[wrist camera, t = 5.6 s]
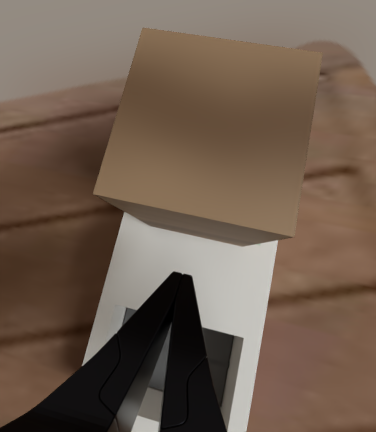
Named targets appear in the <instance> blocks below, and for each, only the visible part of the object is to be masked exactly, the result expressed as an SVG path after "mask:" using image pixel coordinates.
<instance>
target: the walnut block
mask: <svg viewBox="0 0 376 432" xmlns="http://www.w3.org/2000/svg"><path fill="white" fill-rule="evenodd" d="M322 55H323V53H321V52H313V51H306V50H299V49H292V48H285V47H278V46H270V45H263V44H256V43H249V42H242V41H235V40H227V39H221V38H214V37H206V36H199V35H192V34H185V33H177V32H171V31H164V30H156V29H149V28H142V31H141V35H140V38H139V41H138V45H137V48H136V51H135V55H134V58H133V61H132V65H131V68H130V71H129V75H128V78H127V81H126V85H125V88H124V91H123V95H122V98H121V101H120V105H119V108H118V111H117V115H116V118H115V121H114V125H113V128H112V131H111V135H110V138H109V141H108V145H107V148H106V151H105V155H104V158H103V161H102V165H101V168H100V171H99V175H98V178H97V181H96V185H95V188H94V191H93V194H94V195H96V196H97V197H99V198H101V199H103V200H105V201H106V202H108V203H110V204H112V205H113V206H115V207H117V208H119V209H121V210H122V211H124V212H126V213H128V214H130V215H131V216H133V217H135V218H137V219H138V220H140V221H142V222H144V223H146V224H147V225H149V226H152V227H156V228H161V229H165V230H170V231H174V232H179V233H183V234H188V235H192V236H197V237H201V238H206V239H210V240H214V241H219V242H223V243H228V244H232V245H237V246H241V247H244V246H249V245H255V244H260V243H265V242H271V241H276V240H282V239H287V238H292V237H294V236H295V229H296V223H297V216H298V210H299V203H300V197H301V190H302V184H303V178H304V171H305V165H306V158H307V152H308V145H309V139H310V132H311V126H312V119H313V113H314V106H315V100H316V93H317V87H318V80H319V74H320V68H321V61H322Z"/></svg>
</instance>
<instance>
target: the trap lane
mask: <svg viewBox="0 0 376 432" xmlns="http://www.w3.org/2000/svg"><path fill="white" fill-rule="evenodd" d="M277 243H278V240H276V241H271V242H265V243H260V244H255V245H249V246H244V247H241V246H237V245H232V244H228V243H223V242H219V241H214V240H210V239H206V238H201V237H197V236H192V235H188V234H183V233H179V232H174V231H170V230H165V229H161V228H156V227H152V226H149V225H147V224H146V223H144V222H142V221H140V220H138V219H137V218H135V217H133V216H131V215H130V214H128V213H126V212H124V215H123V218H122V222H121V226H120V229H119V233H118V237H117V240H116V244H115V248H114V251H113V255H112V258H111V262H110V266H109V269H108V273H107V277H106V280H105V284H104V288H103V291H102V295H101V299H100V302H99V306H98V309H97V313H96V317H95V320H94V324H93V328H92V331H91V335H90V339H89V342H88V346H87V350H86V353H85V357H84V360H83V364H82V366H83V365H84V364H85V363H86V362H87V361H88V360H90V359H91V358H92V357H93V356H94V355H95V354H96V353H97V352H98V351H99V350H100V349H101V348H102V347H103V346H104V345H105V344H106V343H107V342H108V341H109V340H110V339H111V338H112V336H113V335H114V334H115V333H117V331H118V330H119V329H120V328H121V327H122V325H124V324H125V323H126V321H127V320H128V319H129V318H130V317H131V316H132V315H133V314H134V313H135V312H136V311H137V310H138V308H139V307H140V306H141V305H142V304H143V303H144V302H145V301H146V300H147V299H148V298H149V297H150V296H151V294H152V293H153V292H154V291H155V290H156V289H157V288H158V287H159V286H160V285H161V284H162V283H163V281H164V280H165V279H166V278H167V277H168V276H169V275H170V274H171V273H172V272H173V271H176V272H180V273H182V275H183V274H188V275H192V277H193V282H194V287H195V292H196V298H197V303H198V308H199V314H200V319H201V324H202V329H203V335H204V340H205V345H206V351H207V358H208V361H209V366H210V371H211V375H212V380H213V384H214V388H215V392H216V396H217V399H218V403H219V406H220V405H221V406H220V410H221V413H222V416H223V420H224V423H225V426H226V429H227V432H246V430H247V424H248V418H249V412H250V406H251V400H252V394H253V388H254V382H255V376H256V370H257V364H258V358H259V352H260V346H261V340H262V334H263V328H264V322H265V316H266V310H267V304H268V298H269V292H270V285H271V279H272V273H273V267H274V261H275V255H276V249H277ZM126 310H127V311H126ZM125 314H126V315H125ZM124 317H125V319H124ZM123 321H124V323H123ZM171 325H172V323H171ZM170 332H171V326H170V329H169V332H168V335H167V337H166V340H165V343H164V345H163V348H162V351H161V353H160V356H159V359H158V361H157V364H156V367H155V369H154V372H153V375H152V377H151V380H150V383H149V385H148V388H147V391H146V393H145V396H144V399H143V401H142V404H141V407H140V409H139V412H138V415H137V417H136V420H135V422H134V425H133V428H132V430H131V432H158V427H159V419H160V411H161V403H162V395H163V387H164V379H165V371H166V363H167V356H168V348H169V340H170ZM233 335H234V337H233ZM232 340H233V343H232ZM231 345H232V348H231ZM230 350H231V354H230ZM229 356H230V359H229ZM227 368H228V370H227ZM226 372H227V376H226ZM225 378H226V381H225ZM224 383H225V386H224ZM223 389H224V392H223ZM222 394H223V397H222ZM221 399H222V403H221Z"/></svg>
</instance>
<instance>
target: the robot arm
mask: <svg viewBox="0 0 376 432" xmlns="http://www.w3.org/2000/svg"><path fill="white" fill-rule="evenodd" d="M171 323H172V325H171ZM170 326H171V332H170V340H169V348H168V356H167V363H166V371H165V379H164V387H163V395H162V403H161V411H160V419H159V427H158V432H227V429H226V426H225V423H224V420H223V416H222V413H221V410H220V406H219V403H218V399H217V396H216V392H215V388H214V384H213V380H212V375H211V371H210V366H209V361H208V358H207V351H206V345H205V340H204V335H203V329H202V324H201V319H200V314H199V308H198V303H197V298H196V292H195V287H194V282H193V277H192V275H188V274H183V275H182V273H180V272H176V271H173V272H172V273H171V274H170V275H169V276H168V277H167V278H166V279H165V280H164V281H163V283H162V284H161V285H160V286H159V287H158V288H157V289H156V290H155V291H154V292H153V293H152V294H151V296H150V297H149V298H148V299H147V300H146V301H145V302H144V303H143V304H142V305H141V306H140V307H139V308H138V310H137V311H136V312H135V313H134V314H133V315H132V316H131V317H130V318H129V319H128V320H127V321H126V323H125V324H124V325H123V326H122V327H121V328H120V329H119V330H118V331H117V333H115V334H114V335H113V336H112V338H111V339H110V340H109V341H108V342H107V343H106V344H105V345H104V346H103V347H102V348H101V349H100V350H99V351H98V352H97V353H96V354H95V355H94V356H93V357H92V358H91V359H90V360H88V361H87V362H86V363H85V364H84V365H83V366H82V367H81V368H80V369H78V370H77V371H76V372H75V373H74V374H73V375H72V376H71V377H69V378H68V379H67V380H66V381H65V382H64V383H63V384H61V385H60V386H59V387H58V388H57V389H56V390H55V391H54V392H52V393H51V394H50V395H49V396H48V397H47V398H45V399H44V400H43V401H42V402H41V403H39V404H38V405H37V406H35V407H34V408H33V409H31V410H30V411H28V412H27V413H25V414H24V415H22V416H20V417H19V418H17V419H15V420H13V421H11V422H10V423H8V424H6V425H4V426H3V427H1V428H0V432H131V430H132V428H133V425H134V422H135V420H136V417H137V415H138V412H139V409H140V407H141V404H142V401H143V399H144V396H145V393H146V391H147V388H148V385H149V383H150V380H151V377H152V375H153V372H154V369H155V367H156V364H157V361H158V359H159V356H160V353H161V351H162V348H163V345H164V343H165V340H166V337H167V335H168V332H169V329H170Z"/></svg>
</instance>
